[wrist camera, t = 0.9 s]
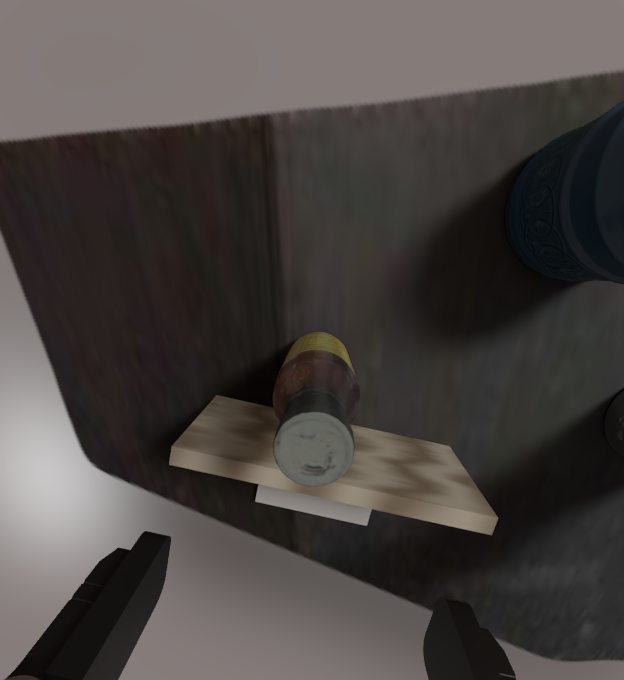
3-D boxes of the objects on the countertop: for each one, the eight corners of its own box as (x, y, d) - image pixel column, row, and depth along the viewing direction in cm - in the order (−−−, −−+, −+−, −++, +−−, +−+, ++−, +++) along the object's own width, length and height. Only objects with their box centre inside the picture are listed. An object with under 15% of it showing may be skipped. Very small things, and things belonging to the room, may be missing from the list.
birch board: (449, 446, 37) (498, 518, 27) (445, 459, 38) (491, 535, 27) (216, 395, 37) (171, 446, 27) (214, 408, 38) (169, 464, 27)
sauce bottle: (327, 396, 37) (328, 540, 17) (277, 366, 36) (221, 479, 17) (361, 346, 36) (402, 440, 16) (310, 314, 35) (288, 372, 16)
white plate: (383, 460, 38) (384, 464, 37) (365, 520, 40) (366, 525, 39) (269, 434, 38) (267, 438, 37) (256, 496, 40) (255, 501, 39)
